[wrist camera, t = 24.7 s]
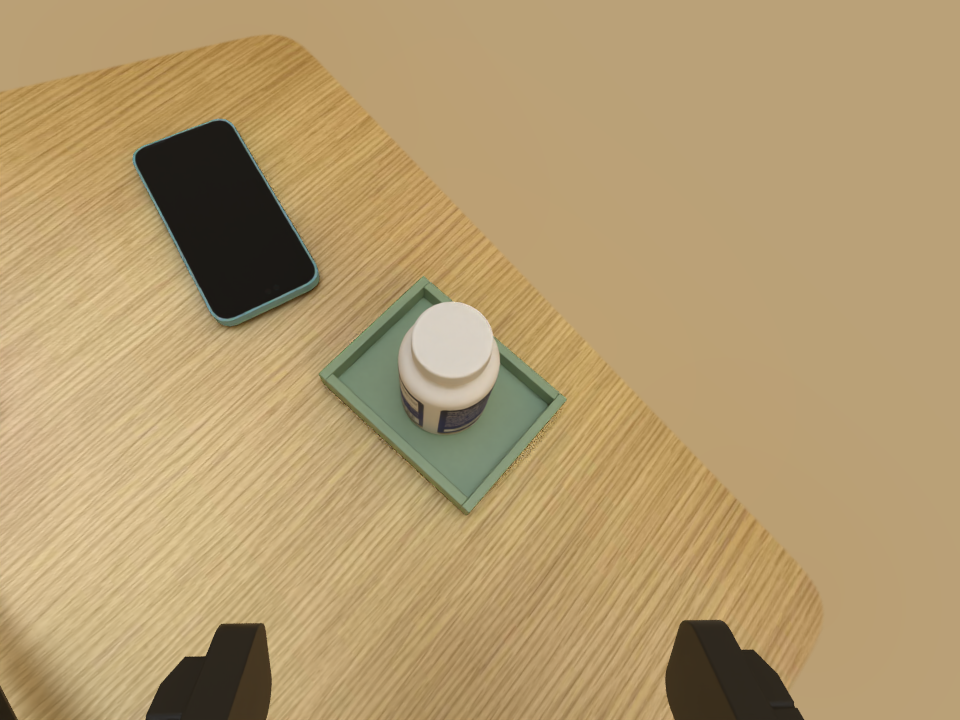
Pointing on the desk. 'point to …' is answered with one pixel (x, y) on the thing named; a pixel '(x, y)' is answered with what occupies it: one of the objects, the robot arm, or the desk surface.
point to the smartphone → (225, 221)
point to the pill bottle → (447, 368)
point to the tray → (439, 458)
